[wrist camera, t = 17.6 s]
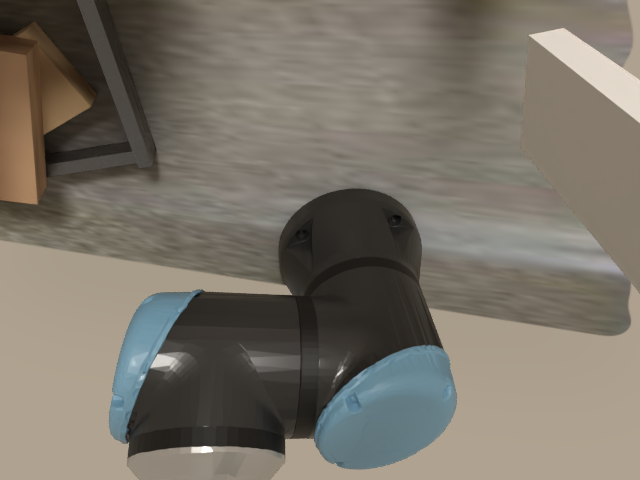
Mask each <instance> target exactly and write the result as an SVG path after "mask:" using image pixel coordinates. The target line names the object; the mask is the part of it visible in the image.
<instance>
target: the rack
mask: <svg viewBox="0 0 640 480" xmlns="http://www.w3.org/2000/svg"><path fill="white" fill-rule="evenodd" d="M76 1H77V3H78V6H79V9H80V11H81V14H82V17H83V20H84V22H85V25H86V28H87V30H88V33H89V36H90V38H91V41H92V44H93V47H94V49H95V52H96V55H97V57H98V60H99V63H100V65H101V68H102V71H103V74H104V76H105V79H106V82H107V84H108V87H109V90H110V92H111V95H112V98H113V101H114V103H115V106H116V109H117V111H118V114H119V117H120V119H121V122H122V125H123V128H124V130H125V133H126V136H127V138H128V141H129V142H123V143H116V144H110V145H104V146H97V147H91V148H85V149H78V150H72V151H65V152H59V153H53V154H46V155H45V162H46V177H52V176H58V175H65V174H71V173H78V172H84V171H90V170H97V169H103V168H109V167H116V166H122V165H128V164H135V163H137V165H138V168H145V167H151V166H152V165H153V161H154V157H155V153H156V147H155V144H154V141H153V138H152V135H151V132H150V129H149V126H148V123H147V120H146V117H145V115H144V112H143V109H142V106H141V103H140V100H139V97H138V94H137V91H136V88H135V85H134V82H133V79H132V76H131V73H130V70H129V67H128V64H127V61H126V59H125V56H124V53H123V50H122V47H121V44H120V41H119V38H118V35H117V32H116V29H115V26H114V23H113V20H112V17H111V14H110V11H109V8H108V5H107V2H106V0H76Z"/></svg>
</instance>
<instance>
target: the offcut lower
mask: <svg viewBox="0 0 640 480" xmlns="http://www.w3.org/2000/svg"><path fill="white" fill-rule="evenodd" d="M12 36H14V37H20V38H25V39H31V40H36V41H38V49H39V65H40V81H41V98H42V114H43V130H44V135H45V134H46V133H48V132H50V131H51V130H53V129H55V128H56V127H58V126H60V125H61V124H63V123H65V122H66V121H68V120H70V119H71V118H73V117H75V116H76V115H78V114H80V113H81V112H83V111H85V110H86V109H88V108H90V107H91V105H92V103H93V101H94V99H95V97H96V95H97V94H96V93H95V91H94V90H93V89H92V88H91V87H90V86H89V84H88V83H87V82H86V81H85V80H84V78H83V77H82V76H81V75H80V74H79V73H78V71H77V70H76V69H75V68H74V67H73V66H72V64H71V63H70V62H69V61H68V60H67V58H66V57H65V56H64V55H63V54H62V53H61V51H60V50H59V49H58V48H57V47H56V46H55V44H54V43H53V42H52V41H51V40H50V38H49V37H48V36H47V35H46V34H45V33H44V31H43V30H42V29H41V28H40V27H39V26H38V24H37V23H36V22H35V21H33V22H32V23H30V24H29V25H27V26H26V27H24V28H23V29H21V30H19V31H18V32H16V33H15V34H13V35H12Z"/></svg>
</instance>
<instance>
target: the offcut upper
mask: <svg viewBox="0 0 640 480" xmlns="http://www.w3.org/2000/svg"><path fill="white" fill-rule="evenodd" d="M46 186H47V178H46V162H45V145H44V130H43V114H42V98H41V81H40V65H39V49H38V41H36V40H31V39H25V38H20V37H14V36H9V35H3V34H0V200H3V201H12V202H20V203H28V204H37V205H38V203H39V201H40V199H41V197H42V195H43V192H44V190H45V188H46Z"/></svg>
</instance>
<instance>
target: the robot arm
mask: <svg viewBox="0 0 640 480" xmlns="http://www.w3.org/2000/svg"><path fill="white" fill-rule="evenodd" d="M521 149H522V150H523V151H524V153H525V154H526V155H527V156H528V157H529V159H530V160H531V161H532V162H533V164H534V165H535V166H536V167H537V168H538V170H539V171H540V172H541V173H542V175H543V176H544V177H545V178H546V179H547V181H548V182H549V183H550V184H551V186H552V187H553V188H554V189H555V190H556V192H557V193H558V194H559V195H560V196H561V198H562V199H563V200H564V201H565V203H566V204H567V205H568V206H569V207H570V209H571V210H572V211H573V212H574V214H575V215H576V216H577V217H578V218H579V220H580V221H581V222H582V223H583V225H584V226H585V227H586V228H587V229H588V231H589V232H590V233H591V234H592V235H593V237H594V238H595V239H596V240H597V242H598V243H599V244H600V245H601V246H602V248H603V249H604V250H605V251H606V253H607V254H608V255H609V256H610V257H611V259H612V260H613V261H614V262H615V263H616V265H617V266H618V267H619V268H620V270H621V271H622V272H623V273H624V274H625V276H626V277H627V278H628V279H629V281H630V282H631V283H632V284H633V285H634V287H635V288H636V289H637V290H638V291H639V293H640V80H639V79H637V78H636V77H634V76H633V75H632V74H630V73H629V72H627V71H626V70H624V69H623V68H621V67H620V66H618V65H617V64H616V63H614V62H613V61H611V60H610V59H608V58H607V57H605V56H604V55H602V54H601V53H599V52H598V51H597V50H595V49H594V48H592V47H591V46H589V45H588V44H586V43H585V42H583V41H582V40H580V39H579V38H578V37H576V36H575V35H573V34H572V33H570V32H569V31H567V30H566V29H564V28H562V29H557V30H552V31H547V32H542V33H537V34H532V35H529V37H528V51H527V64H526V78H525V92H524V106H523V120H522V134H521ZM421 256H422V245H421V238H420V235H419V232H418V229H417V227H416V224H415V222H414V220H413V218H412V216H411V214H410V213H409V211H408V210H407V209H406V208H405V207H404V206H403V205H402V204H401V203H400V202H398V201H397V200H395V199H394V198H392V197H390V196H388V195H386V194H383V193H380V192H377V191H372V190H366V189H346V190H339V191H335V192H331V193H328V194H325V195H322V196H320V197H318V198H316V199H314V200H312V201H310V202H309V203H307V204H306V205H304V206H303V207H302V208H300V209H299V210H298V211H297V212H296V213H295V214H294V215H293V216H292V217H291V219H290V220H289V221H288V223H287V224H286V226H285V228H284V230H283V232H282V234H281V237H280V241H279V263H280V270H281V274H282V277H283V279H284V282H285V284H286V285H287V287H288V288H289V289H290V292H291V293H292V295H269V294H246V293H223V292H205V291H203V290H195V291H193V292H165V293H156V294H154V295H151V296H150V297H148V298H147V299H145V300H144V301H143V302H142V303H141V305H140V306H139V307H138V309H137V310H136V312H135V313H134V315H133V318H132V320H131V322H130V324H129V326H128V329H127V332H126V335H125V338H124V341H123V344H122V348H121V351H120V355H119V359H118V363H117V367H116V372H115V376H114V382H113V388H112V392H113V394H114V395H113V397H112V401H111V407H110V412H109V427H110V433H111V435H112V436H113V437H114V439H116V440H119V441H120V442H122V443H124V444H127V443H128V442H129V450H128V459H127V466H128V467H129V469H130V470H131V471H132V472H133V473H134V474H135V476H136V477H137V478H138V479H139V480H270V479H271V478H272V477H273V476H274V474H275V473H276V472H277V471H278V470H279V469H280V467H281V466H282V465H283V464H284V463H285V439H298V438H299V439H300V438H307V439H314V441H315V443H316V447H317V448H318V450H319V452H320V454H321V455H322V456H323V457H324V458H325V460H327V461H328V462H330V463H331V464H334V463H336V464H337V466H339V467H342V468H346V469H370V468H377V467H382V466H386V465H389V464H393V463H395V462H398V461H401V460H403V459H406V458H408V457H410V456H412V455H414V454H416V453H417V452H418V451H420V450H421V449H423V448H425V447H427V446H428V445H429V444H431V443H432V442H433V441H434V440H435V439H436V438H438V436H440V435H441V434H442V432H443V431H444V430H445V429H446V427H447V426H448V424H449V423H450V421H451V419H452V417H453V415H454V412H455V409H456V403H457V402H456V401H457V394H456V389H455V385H454V381H453V377H452V374H451V370H450V362H449V361H450V360H449V357H448V355H447V354H446V352H445V351H444V349H443V346H442V344H441V341H440V338H439V336H438V333H437V330H436V328H435V325H434V322H433V319H432V317H431V314H430V312H429V309H428V306H427V303H426V301H425V298H424V295H423V293H422V290H421V288H420V285H419V277H420V266H421Z"/></svg>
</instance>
